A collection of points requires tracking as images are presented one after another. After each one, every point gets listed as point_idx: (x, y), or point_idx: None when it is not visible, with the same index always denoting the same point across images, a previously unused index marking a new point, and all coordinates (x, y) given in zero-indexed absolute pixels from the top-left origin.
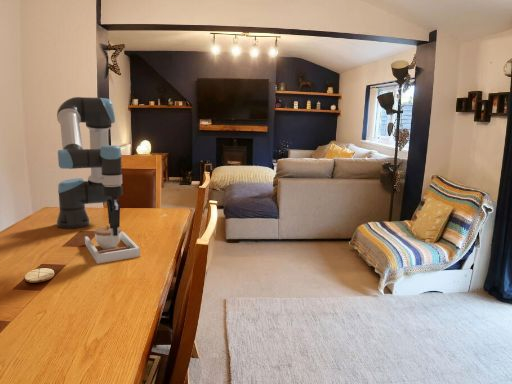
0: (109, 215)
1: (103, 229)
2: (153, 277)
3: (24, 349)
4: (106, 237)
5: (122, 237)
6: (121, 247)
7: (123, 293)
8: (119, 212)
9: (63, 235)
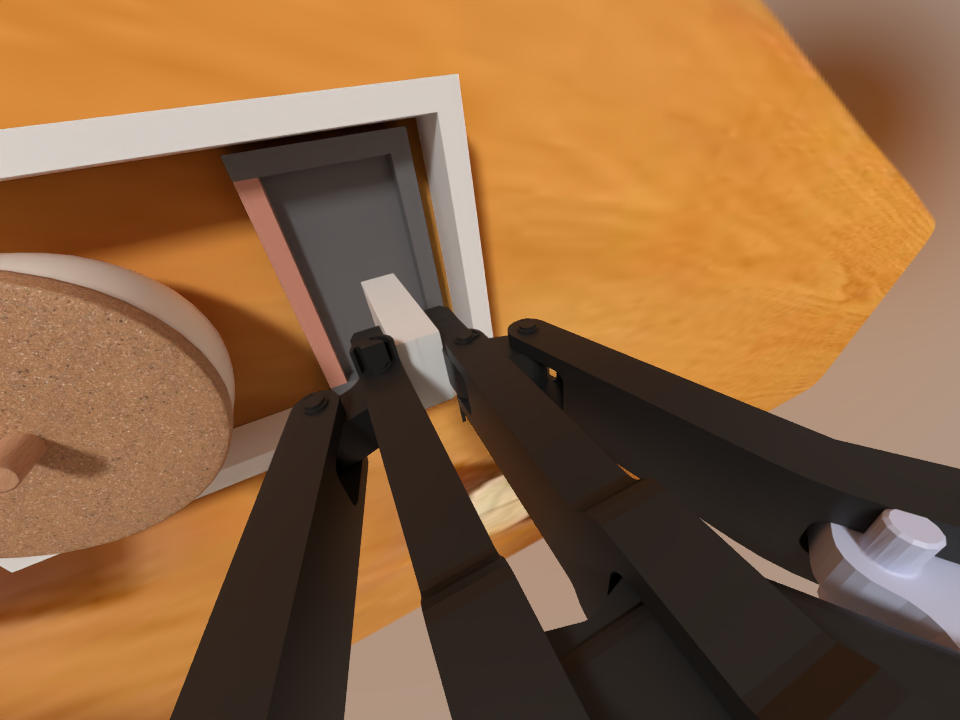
0: (352, 555)
1: (53, 485)
2: (736, 80)
3: (784, 387)
4: (233, 395)
5: None
6: (259, 236)
7: (757, 231)
8: (774, 420)
9: None
